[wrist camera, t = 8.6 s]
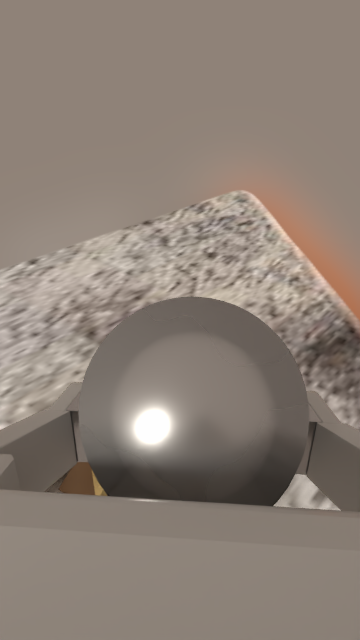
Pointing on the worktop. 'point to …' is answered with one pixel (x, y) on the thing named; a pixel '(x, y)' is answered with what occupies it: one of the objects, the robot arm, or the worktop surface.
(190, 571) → the robot arm
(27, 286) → the worktop surface
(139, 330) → the grey metal cylinder
